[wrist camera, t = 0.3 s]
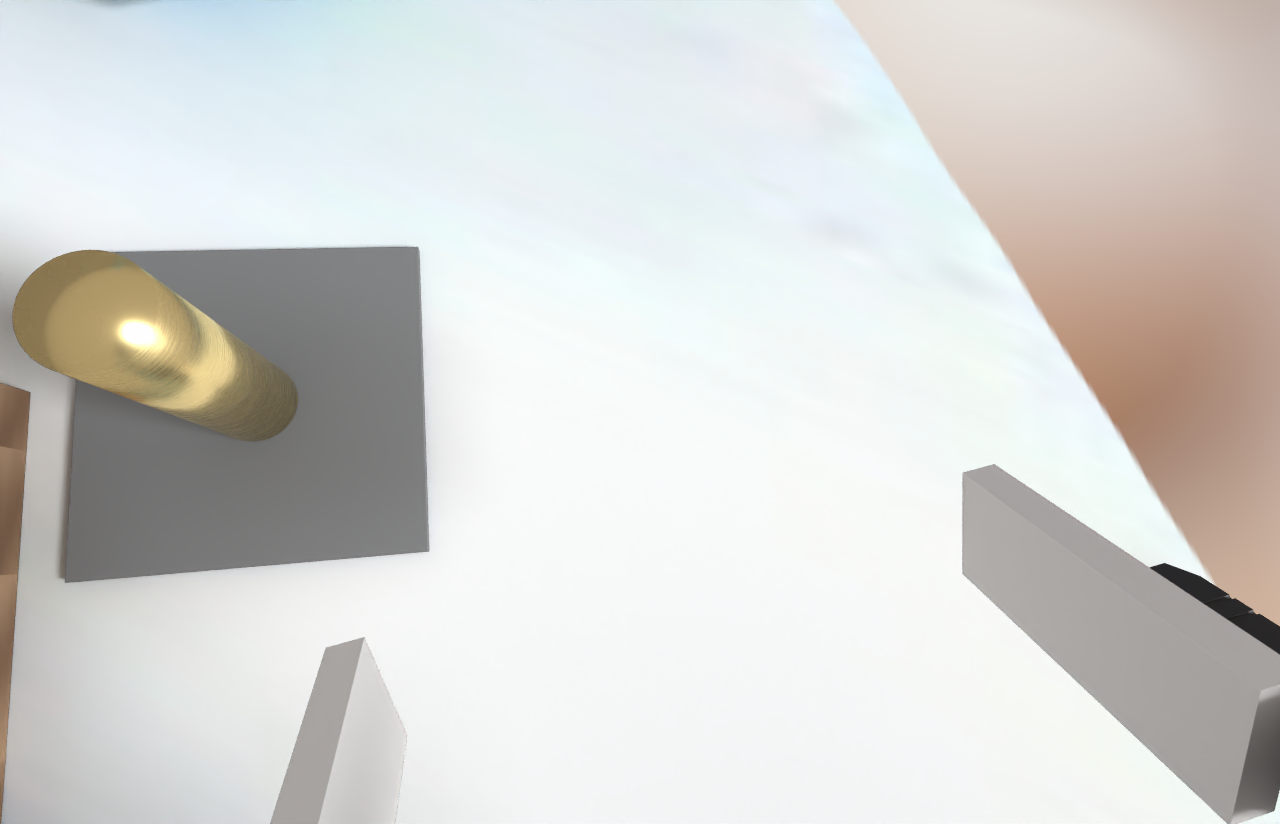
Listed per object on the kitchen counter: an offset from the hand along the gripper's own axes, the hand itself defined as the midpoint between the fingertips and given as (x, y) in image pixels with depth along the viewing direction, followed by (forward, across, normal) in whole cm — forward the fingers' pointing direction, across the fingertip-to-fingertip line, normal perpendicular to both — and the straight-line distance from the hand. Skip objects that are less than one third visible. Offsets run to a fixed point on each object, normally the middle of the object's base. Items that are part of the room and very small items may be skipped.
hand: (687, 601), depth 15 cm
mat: (+20, +14, -1) cm, 24 cm away
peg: (+19, +14, -1) cm, 24 cm away
